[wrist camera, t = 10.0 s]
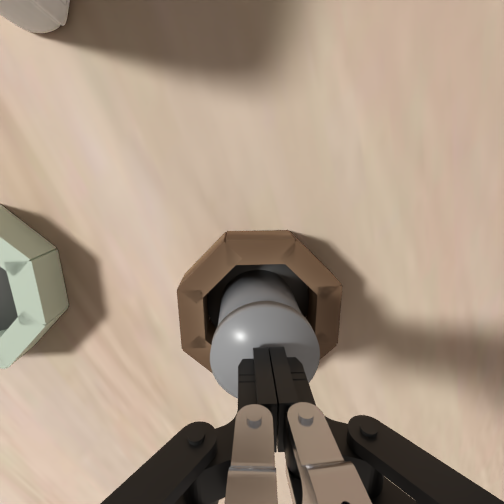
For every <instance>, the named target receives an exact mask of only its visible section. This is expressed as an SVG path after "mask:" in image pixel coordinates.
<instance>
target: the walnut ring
mask: <svg viewBox="0 0 504 504" xmlns="http://www.w3.org/2000/svg"><path fill="white" fill-rule="evenodd" d="M250 270H267V271H270V272H273V273H275V274H277V275H279V276H280V277H281V278H283V279H284V280H285V281H286V282H287V284H288V285H289V287H290V289H291V291H292V293H293V295H294V298H295V300H296V302H297V305H298V307H299V309H300V311H301V314H302V315H303V316H304V317H306V319H307V320H308V322H309V323H310V325H311V327H312V329H313V331H314V333H315V335H316V337H317V340H318V343H319V349H320V359H321V358H322V357H323V356H325V355H326V354H327V353H328V352H329V351H330V350H332V349H333V348H334V347H335V346H336V343H338V333H339V321H340V308H341V296H342V285H341V283H340V282H339V281H338V280H337V278H336V277H335V276H334V275H333V274H332V273H331V272H330V271H329V270H328V269H327V268H326V267H325V266H324V265H323V264H322V263H321V262H320V261H319V260H318V259H317V258H316V257H315V256H314V255H313V254H312V253H311V252H310V251H309V250H308V249H307V248H306V247H305V246H304V245H303V244H302V243H301V242H300V241H299V240H298V239H297V238H296V237H295V236H294V235H293V234H292V233H291V232H290V231H288V230H276V231H227V233H226V232H225V233H224V234H223V235H222V236H221V237H220V238H219V239H218V240H217V241H216V242H215V243H214V244H213V245H212V247H211V248H210V249H209V250H208V251H207V252H206V253H205V254H204V255H203V256H202V257H201V258H200V259H199V260H198V261H197V262H196V263H195V264H194V265H193V266H192V267H191V268H190V269H189V270H188V271H187V272H186V273H185V275H184V277H183V279H182V281H181V283H180V285H179V287H178V289H177V298H178V309H179V321H180V332H181V344H182V349H183V351H184V352H186V353H187V354H188V355H190V356H191V357H192V358H194V359H195V360H196V361H197V362H199V363H200V364H201V365H203V366H204V367H205V368H206V369H208V370H209V371H210V372H212V369H211V365H210V351H211V345H212V339H213V336H214V333H215V331H216V329H217V327H218V321H219V313H220V305H221V298H222V294H223V291H224V289H225V287H226V286H227V284H228V283H229V282H230V281H231V280H232V279H233V278H234V277H236V276H237V275H239V274H241V273H243V272H246V271H250ZM306 284H307V285H308V289H307V286H306ZM306 314H307V315H306ZM209 316H210V319H211V321H212V322H210V321H209ZM320 359H319V360H320Z"/></svg>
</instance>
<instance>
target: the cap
mask: <svg viewBox="0 0 504 504" xmlns="http://www.w3.org/2000/svg"><path fill="white" fill-rule="evenodd" d="M256 347H268V350H269V347H284V348H285V352H286V356H287V357H296V358H297V359H298V360H299V361H300V362H301V363H302V365H303V368H304V371H305V374H306V377H307V380H308V383H309V382H310V381H311V379H312V378H313V376H314V375H315V372H316V370H317V368H318V364H319V359H320V349H319V343H318V340H317V337H316V335H315V333H314V331H313V329H312V327H311V325H310V323H309V322H308V320H307V319H306V318H305V317H304V316H303V315H302V314H301V311H300V309H299V307H298V305H297V302H296V300H295V298H294V295H293V293H292V291H291V289H290V287H289V285H288V284H287V282H286V281H285V280H284V279H283V278H281V277H280V276H279V275H277V274H275V273H273V272H270V271H267V270H250V271H246V272H243V273H241V274H239V275H237V276H236V277H234V278H233V279H232V280H231V281H230V282H229V283H228V284H227V286H226V287H225V289H224V291H223V294H222V298H221V305H220V313H219V321H218V327H217V329H216V331H215V333H214V336H213V339H212V345H211V351H210V365H211V369H212V373H213V375H214V377H215V379H216V380H217V382H218V383H219V385H220V386H221V387H222V388H223V389H224V390H225V391H226V392H228V393H229V394H231V395H232V396H234V397H236V398H238V366H239V364H240V362H241V361H242V359H253V348H256Z"/></svg>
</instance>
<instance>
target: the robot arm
mask: <svg viewBox="0 0 504 504" xmlns="http://www.w3.org/2000/svg"><path fill="white" fill-rule="evenodd" d="M276 447H277V448H278V452H285V458H286V476H287V480H288V485H289V489H290V493H291V498H292V502H293V504H504V502H503V501H502V500H500V499H499V498H497V497H496V496H494V495H492V494H491V493H489V492H488V491H486V490H485V489H483V488H482V487H480V486H479V485H477V484H475V483H474V482H472V481H471V480H469V479H468V478H466V477H465V476H463V475H461V474H460V473H458V472H457V471H455V470H454V469H452V468H451V467H449V466H448V465H446V464H444V463H443V462H441V461H440V460H438V459H437V458H435V457H434V456H432V455H431V454H429V453H427V452H426V451H424V450H423V449H421V448H420V447H418V446H417V445H415V444H414V443H412V442H410V441H409V440H407V439H406V438H404V437H403V436H401V435H400V434H398V433H397V432H395V431H393V430H392V429H390V428H389V427H387V426H386V425H384V424H383V423H381V422H380V421H378V420H376V419H374V418H372V417H369V416H365V415H358V416H355V417H353V418H351V419H350V421H349V423H348V424H346V423H342V422H337V421H334V420H331V419H329V418H327V417H325V416H324V414H323V412H322V411H321V410H320V409H319V408H318V407H317V406H316V404H315V401H314V398H313V395H312V392H311V389H310V386H309V383H308V380H307V377H306V374H305V371H304V368H303V365H302V363H301V362H300V361H299V360H298V359H297V358H296V357H287V356H286V352H285V348H284V347H269V350H268V347H256V348H253V359H242V361H241V362H240V364H239V366H238V411H237V414H236V416H235V418H234V419H233V420H232V421H231V422H230V423H228V424H227V425H225V426H222V427H219V428H216V429H214V427H213V426H212V425H210V424H209V423H206V422H194V423H191V424H189V425H187V426H185V427H184V428H183V429H182V430H181V431H180V432H178V433H177V434H176V435H175V436H174V437H173V438H172V439H171V440H170V441H169V442H167V443H166V444H165V445H164V446H163V447H162V448H161V449H160V450H159V451H158V452H157V453H155V454H154V455H153V456H152V457H151V458H150V459H149V460H148V461H147V462H146V463H145V464H143V465H142V466H141V467H140V468H139V469H138V470H137V471H136V472H135V473H134V474H132V475H131V476H130V477H129V478H128V479H127V480H126V481H125V482H124V483H123V484H122V485H120V486H119V487H118V488H117V489H116V490H115V491H114V492H113V493H112V494H111V495H109V496H108V497H107V498H106V499H105V500H104V501H103V502H102V503H101V504H218V502H219V500H220V499H222V498H224V497H225V504H278V498H277V478H276V468H275V455H274V452H276ZM384 476H385V477H386V478H385V477H384ZM388 479H389V480H390V481H391V482H390V481H389V480H388ZM392 482H393V483H394V484H395V485H394V484H393V483H392ZM397 486H398V487H399V488H400V489H399V488H398V487H397ZM401 489H402V490H403V491H404V492H405V493H404V492H403V491H402V490H401ZM406 493H407V494H408V495H409V496H408V495H407V494H406ZM411 497H412V498H413V499H414V500H413V499H412V498H411Z"/></svg>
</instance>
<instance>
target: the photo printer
mask: <svg viewBox="0 0 504 504" xmlns="http://www.w3.org/2000/svg"><path fill="white" fill-rule="evenodd" d="M69 2H70V0H0V15H1V16H3V17H4V18H6V19H7V20H9V21H10V22H12V23H14V24H15V25H17V26H18V27H20V28H22V29H24V30H26V31H30V32H33V33H48V32H51V31H54V30H56V29H58V28H59V27H60V25H62V26H64V25H65V23H66V21H67V16H68V10H69Z"/></svg>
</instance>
